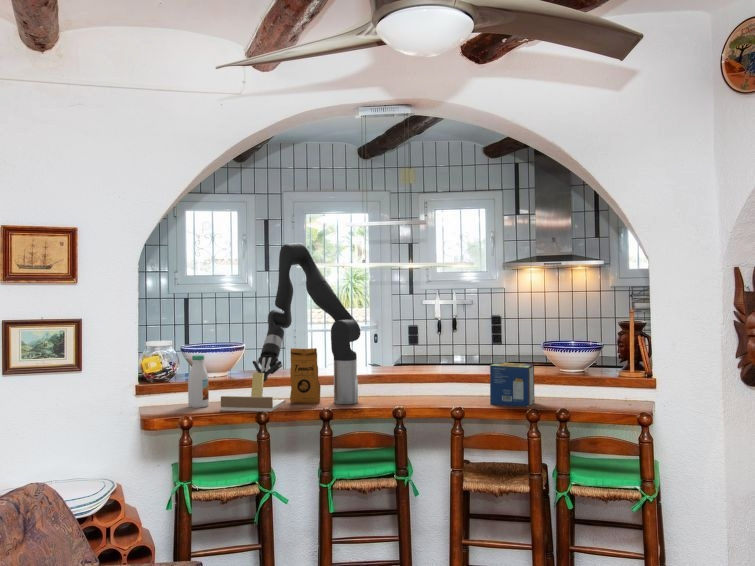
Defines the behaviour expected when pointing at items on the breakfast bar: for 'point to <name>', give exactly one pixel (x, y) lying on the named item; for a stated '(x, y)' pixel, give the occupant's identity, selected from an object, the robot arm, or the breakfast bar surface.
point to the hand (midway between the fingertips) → (262, 380)
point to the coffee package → (304, 376)
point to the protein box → (512, 384)
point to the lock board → (249, 403)
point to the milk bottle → (198, 383)
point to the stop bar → (257, 385)
